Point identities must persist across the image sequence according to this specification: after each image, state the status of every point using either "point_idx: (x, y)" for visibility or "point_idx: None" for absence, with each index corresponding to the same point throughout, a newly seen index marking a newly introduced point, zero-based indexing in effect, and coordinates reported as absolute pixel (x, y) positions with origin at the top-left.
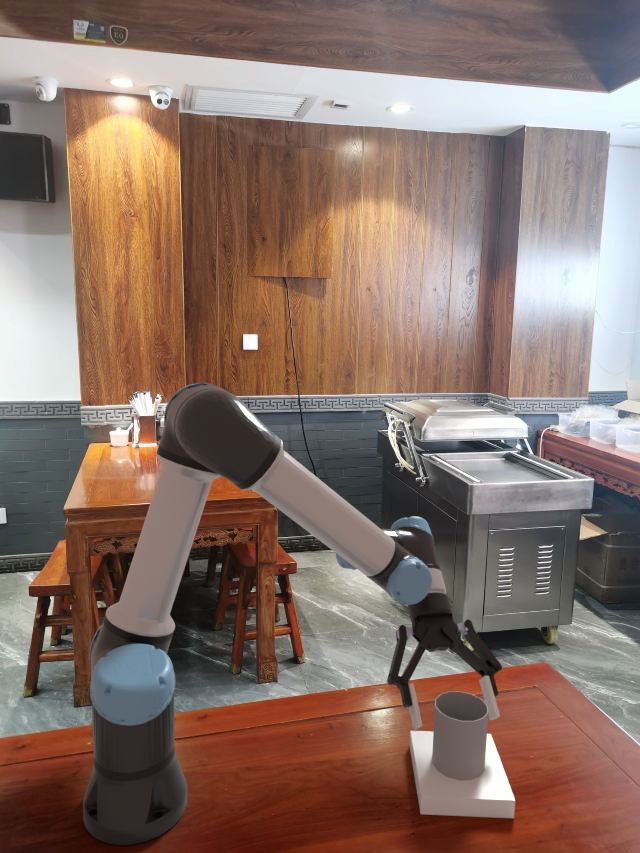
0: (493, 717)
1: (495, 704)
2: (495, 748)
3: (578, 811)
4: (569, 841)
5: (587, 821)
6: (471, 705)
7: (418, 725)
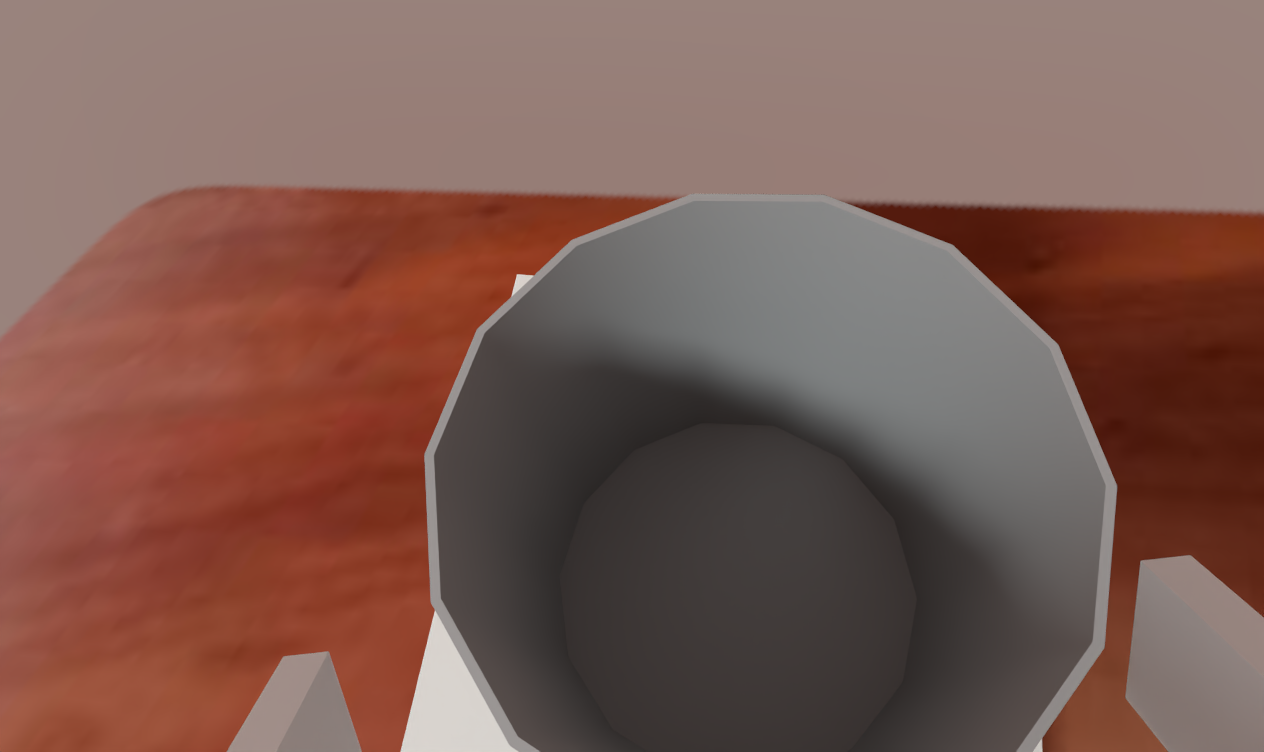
0: (343, 703)
1: (247, 743)
2: (413, 722)
3: (226, 347)
4: (373, 206)
5: (230, 294)
6: (545, 724)
7: (1188, 560)
